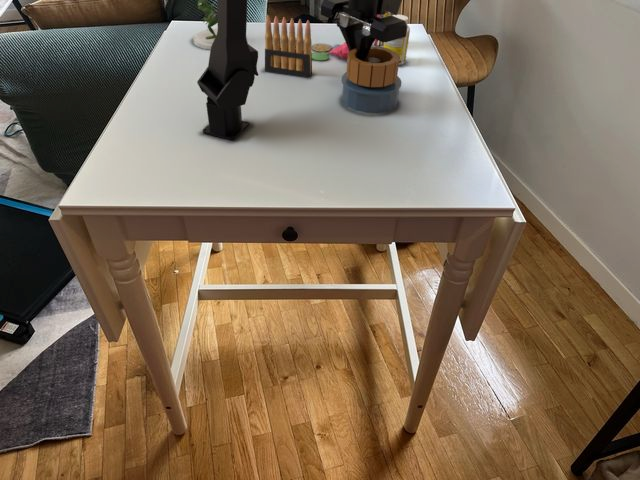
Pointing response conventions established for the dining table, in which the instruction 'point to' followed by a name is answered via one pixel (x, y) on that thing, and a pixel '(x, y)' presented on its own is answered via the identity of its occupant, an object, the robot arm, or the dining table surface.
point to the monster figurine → (208, 36)
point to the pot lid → (370, 90)
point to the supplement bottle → (400, 42)
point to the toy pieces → (338, 51)
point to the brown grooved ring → (373, 68)
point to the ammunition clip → (288, 49)
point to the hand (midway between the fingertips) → (358, 62)
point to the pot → (369, 101)
